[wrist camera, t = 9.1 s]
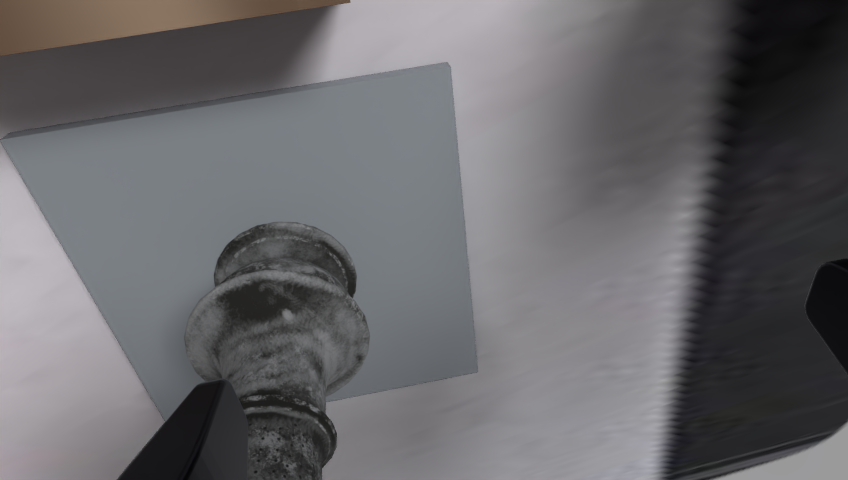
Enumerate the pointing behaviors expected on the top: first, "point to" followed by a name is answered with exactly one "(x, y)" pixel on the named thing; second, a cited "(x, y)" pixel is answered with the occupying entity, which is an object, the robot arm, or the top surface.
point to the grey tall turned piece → (282, 341)
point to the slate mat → (268, 214)
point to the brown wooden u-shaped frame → (121, 18)
